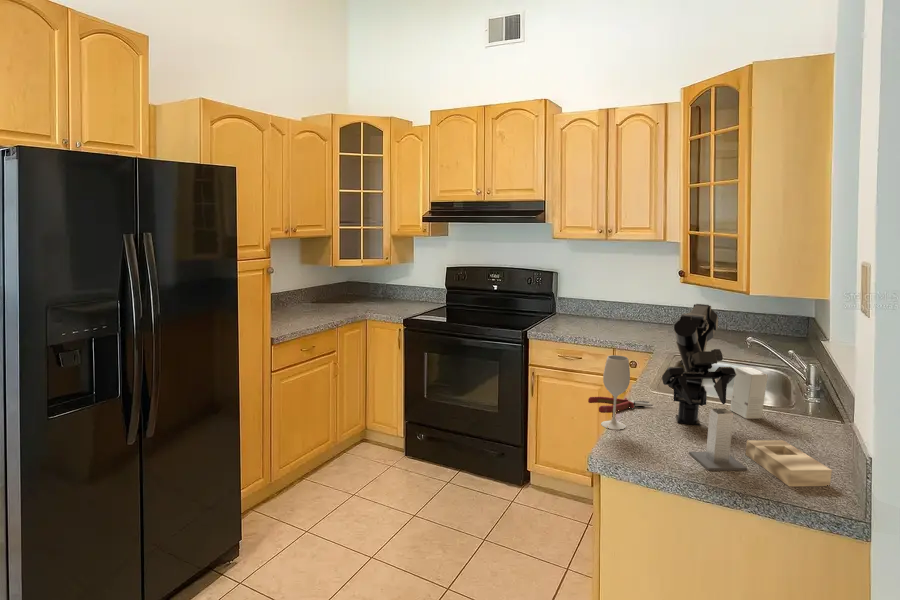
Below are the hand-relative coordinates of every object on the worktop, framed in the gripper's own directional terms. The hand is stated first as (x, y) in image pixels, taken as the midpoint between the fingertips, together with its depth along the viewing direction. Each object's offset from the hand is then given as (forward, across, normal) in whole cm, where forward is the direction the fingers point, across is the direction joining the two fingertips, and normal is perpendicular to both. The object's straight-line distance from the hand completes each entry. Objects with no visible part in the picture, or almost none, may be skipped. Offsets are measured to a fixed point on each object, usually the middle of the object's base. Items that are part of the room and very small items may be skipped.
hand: (707, 403), depth 152 cm
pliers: (-14, -10, +34) cm, 39 cm away
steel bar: (+14, 0, +4) cm, 14 cm away
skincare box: (-10, +29, +29) cm, 42 cm away
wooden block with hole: (+18, +15, +1) cm, 23 cm away
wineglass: (-4, -18, +23) cm, 29 cm away
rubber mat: (+14, 0, +4) cm, 15 cm away
